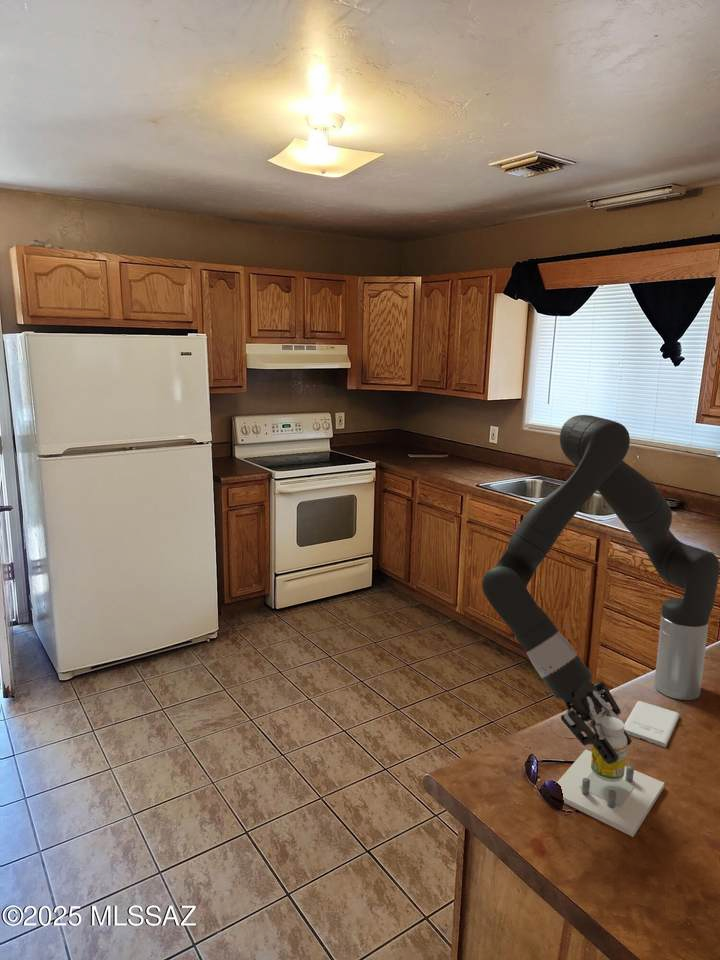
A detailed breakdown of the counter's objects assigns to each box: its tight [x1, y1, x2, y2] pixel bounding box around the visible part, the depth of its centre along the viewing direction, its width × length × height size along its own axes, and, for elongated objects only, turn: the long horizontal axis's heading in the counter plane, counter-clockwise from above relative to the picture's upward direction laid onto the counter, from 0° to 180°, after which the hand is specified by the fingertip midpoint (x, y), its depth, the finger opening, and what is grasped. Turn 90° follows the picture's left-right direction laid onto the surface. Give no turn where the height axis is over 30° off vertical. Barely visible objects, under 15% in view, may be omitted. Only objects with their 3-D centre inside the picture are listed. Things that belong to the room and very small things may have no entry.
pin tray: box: [556, 749, 665, 838], centre depth 108 cm, size 15×14×4 cm
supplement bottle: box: [591, 715, 628, 782], centre depth 107 cm, size 5×5×10 cm
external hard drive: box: [624, 700, 680, 748], centre depth 127 cm, size 2×8×12 cm
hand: (620, 752), depth 106 cm, fingers closed on supplement bottle, 5 cm apart
